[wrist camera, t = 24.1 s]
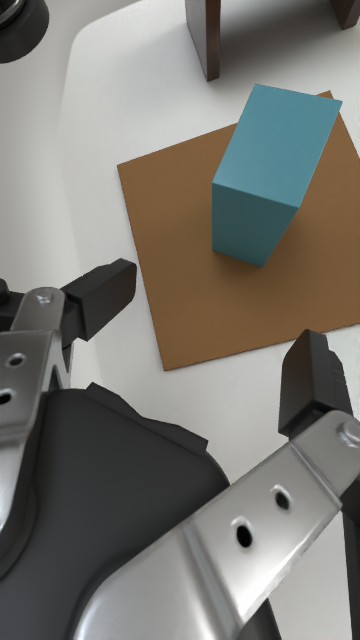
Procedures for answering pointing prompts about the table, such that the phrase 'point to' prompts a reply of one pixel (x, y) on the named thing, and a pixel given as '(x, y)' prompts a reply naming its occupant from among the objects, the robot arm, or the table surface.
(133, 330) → the table surface
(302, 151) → the teal rectangular block
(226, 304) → the mat
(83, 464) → the robot arm
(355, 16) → the shelf
